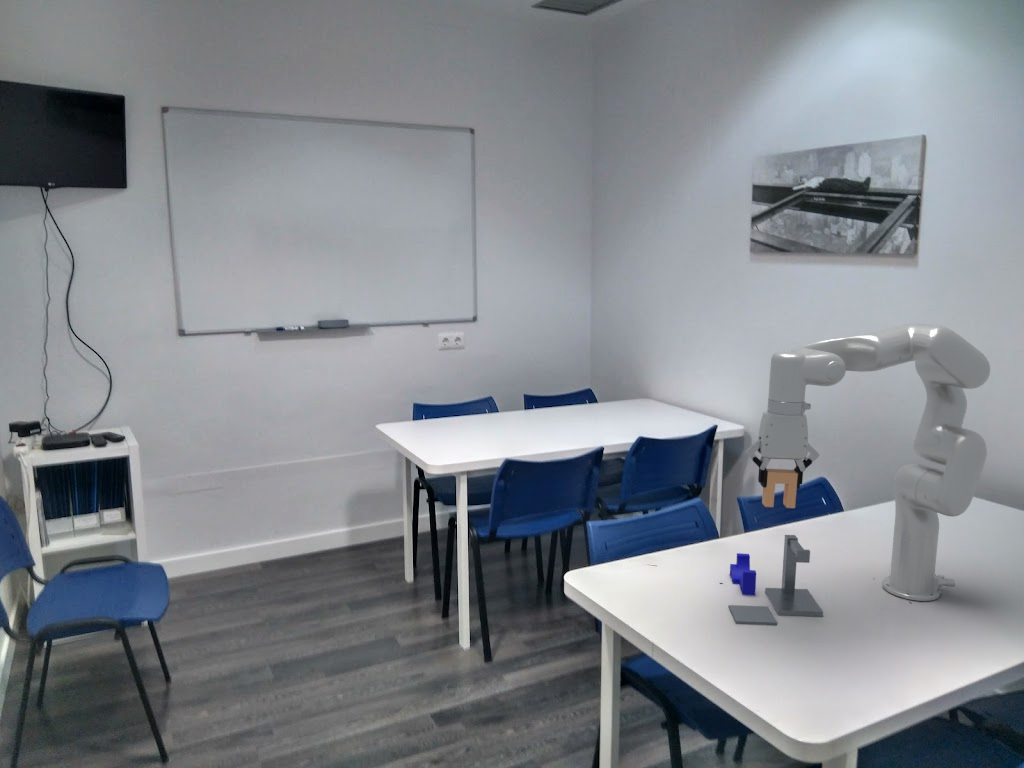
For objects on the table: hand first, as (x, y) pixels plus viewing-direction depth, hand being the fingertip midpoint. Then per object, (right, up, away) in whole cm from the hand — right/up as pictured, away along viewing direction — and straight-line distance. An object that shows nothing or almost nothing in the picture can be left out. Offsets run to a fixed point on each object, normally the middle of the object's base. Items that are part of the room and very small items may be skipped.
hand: (779, 485), depth 169 cm
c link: (0, -4, +1) cm, 5 cm away
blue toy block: (-2, -28, +20) cm, 35 cm away
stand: (+6, -29, +9) cm, 31 cm away
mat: (-5, -30, +3) cm, 31 cm away
